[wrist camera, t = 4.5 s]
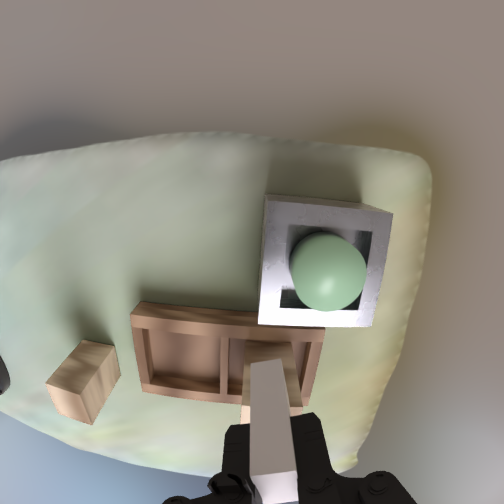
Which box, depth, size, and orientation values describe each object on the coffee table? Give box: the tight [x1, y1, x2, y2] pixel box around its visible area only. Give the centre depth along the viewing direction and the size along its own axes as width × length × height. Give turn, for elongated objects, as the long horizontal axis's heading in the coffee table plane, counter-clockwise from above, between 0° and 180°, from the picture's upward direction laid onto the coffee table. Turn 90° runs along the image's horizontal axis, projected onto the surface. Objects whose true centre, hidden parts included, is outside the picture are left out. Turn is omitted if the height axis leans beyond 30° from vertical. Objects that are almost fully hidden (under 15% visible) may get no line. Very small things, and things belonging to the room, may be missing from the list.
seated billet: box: [240, 341, 303, 424], centre depth 27 cm, size 5×5×10 cm
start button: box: [289, 232, 367, 312], centre depth 22 cm, size 6×6×3 cm
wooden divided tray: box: [130, 302, 325, 406], centre depth 31 cm, size 20×11×3 cm, turn 86°
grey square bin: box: [258, 194, 393, 327], centre depth 26 cm, size 10×10×7 cm
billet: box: [45, 340, 121, 425], centre depth 29 cm, size 5×5×10 cm
